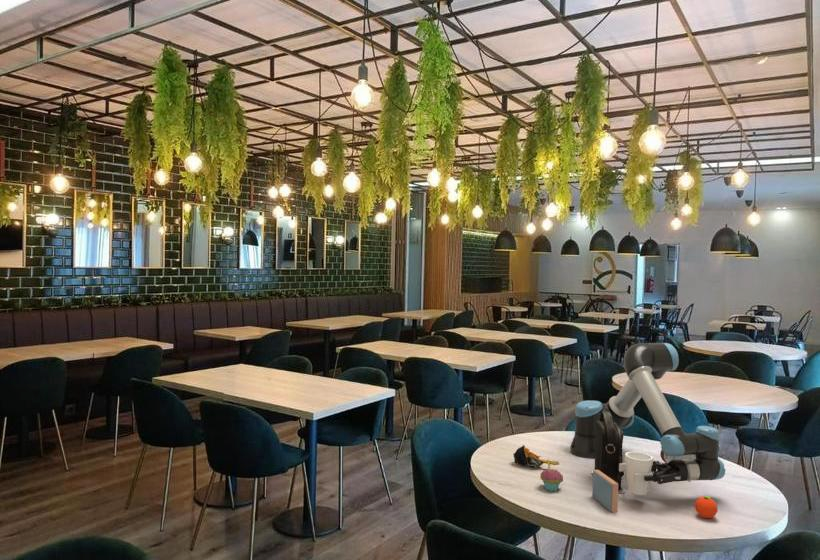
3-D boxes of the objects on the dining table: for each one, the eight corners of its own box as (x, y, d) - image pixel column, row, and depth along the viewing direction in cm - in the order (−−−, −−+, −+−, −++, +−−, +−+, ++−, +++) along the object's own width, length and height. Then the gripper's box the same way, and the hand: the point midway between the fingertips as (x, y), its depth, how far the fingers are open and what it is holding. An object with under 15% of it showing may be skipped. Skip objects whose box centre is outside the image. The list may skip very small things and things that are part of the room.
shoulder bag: (589, 471, 239) (591, 404, 239) (612, 472, 238) (614, 405, 237) (600, 491, 217) (602, 418, 216) (625, 493, 216) (627, 420, 215)
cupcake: (550, 494, 213) (551, 462, 213) (535, 486, 221) (536, 455, 220) (567, 490, 217) (568, 459, 217) (552, 482, 225) (553, 452, 224)
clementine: (700, 510, 202) (701, 490, 202) (721, 517, 197) (722, 496, 197) (690, 516, 197) (691, 496, 197) (712, 523, 192) (713, 502, 192)
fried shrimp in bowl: (512, 449, 251) (552, 439, 248) (519, 474, 246) (560, 465, 243) (509, 446, 243) (551, 436, 240) (516, 473, 238) (559, 463, 235)
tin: (695, 464, 250) (696, 445, 250) (698, 467, 247) (698, 448, 247) (659, 462, 252) (660, 443, 252) (662, 465, 249) (662, 446, 248)
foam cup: (650, 488, 211) (652, 453, 210) (652, 498, 202) (654, 462, 202) (623, 484, 214) (624, 450, 214) (623, 493, 205) (625, 458, 205)
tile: (597, 496, 213) (598, 469, 213) (617, 512, 199) (618, 483, 199) (591, 496, 212) (592, 469, 212) (611, 512, 199) (612, 484, 198)
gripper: (702, 492, 200) (644, 495, 196) (664, 469, 222) (610, 471, 218) (703, 471, 200) (645, 473, 196) (664, 450, 222) (611, 452, 218)
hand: (627, 472), depth 207 cm, fingers closed on foam cup, 9 cm apart
